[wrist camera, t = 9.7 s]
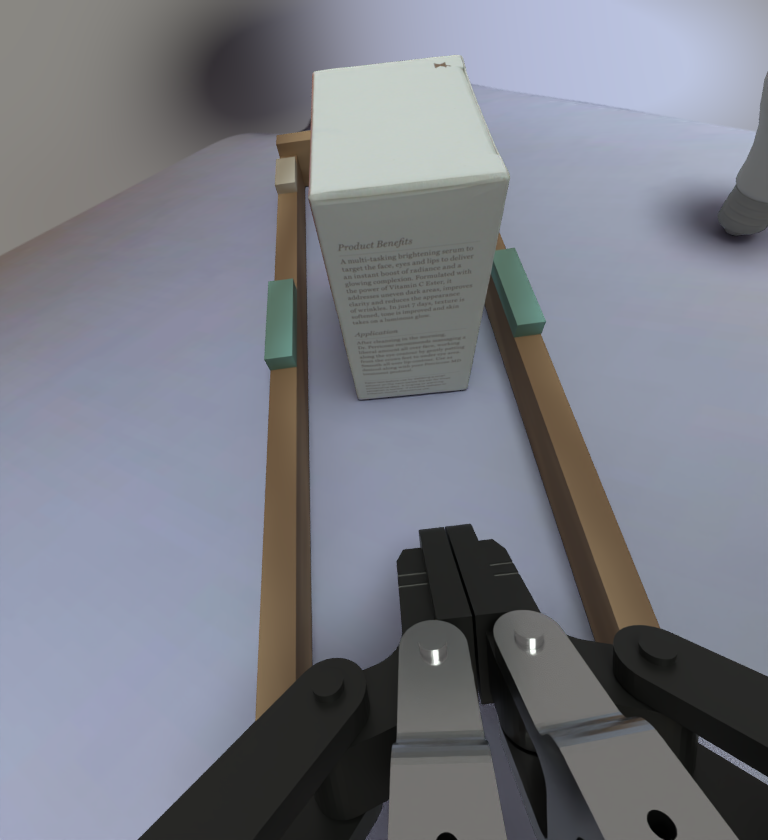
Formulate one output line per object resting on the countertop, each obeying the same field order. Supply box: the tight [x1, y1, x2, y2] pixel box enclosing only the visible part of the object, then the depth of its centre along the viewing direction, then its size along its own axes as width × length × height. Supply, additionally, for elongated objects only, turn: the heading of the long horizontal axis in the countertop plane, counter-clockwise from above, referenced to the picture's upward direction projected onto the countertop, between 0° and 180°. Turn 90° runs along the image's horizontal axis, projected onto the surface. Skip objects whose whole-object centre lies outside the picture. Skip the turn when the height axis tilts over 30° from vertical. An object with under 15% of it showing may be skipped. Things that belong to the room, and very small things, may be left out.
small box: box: [308, 55, 510, 400], centre depth 17 cm, size 8×6×10 cm
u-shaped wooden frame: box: [255, 131, 660, 721], centre depth 20 cm, size 12×33×3 cm, turn 6°
